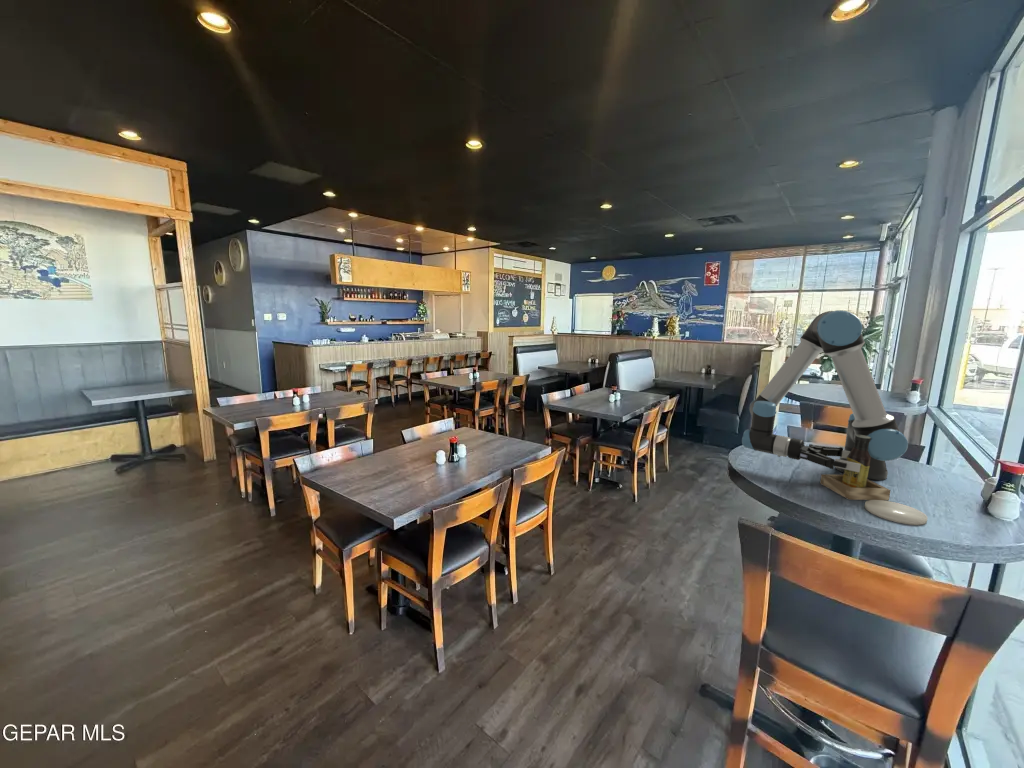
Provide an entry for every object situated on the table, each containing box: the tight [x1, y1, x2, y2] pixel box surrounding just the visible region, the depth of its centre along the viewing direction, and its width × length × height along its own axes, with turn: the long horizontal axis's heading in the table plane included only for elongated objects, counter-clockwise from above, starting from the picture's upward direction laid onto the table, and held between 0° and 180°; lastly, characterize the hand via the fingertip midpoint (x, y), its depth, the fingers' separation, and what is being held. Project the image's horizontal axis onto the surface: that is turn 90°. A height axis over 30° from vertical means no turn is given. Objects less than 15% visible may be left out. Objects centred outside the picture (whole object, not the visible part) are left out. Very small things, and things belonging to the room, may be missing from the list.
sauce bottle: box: [842, 435, 871, 488], centre depth 140 cm, size 6×6×20 cm
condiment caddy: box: [819, 473, 891, 501], centre depth 141 cm, size 13×13×4 cm
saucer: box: [864, 500, 928, 526], centre depth 125 cm, size 14×14×1 cm
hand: (863, 463), depth 138 cm, fingers open, 13 cm apart
